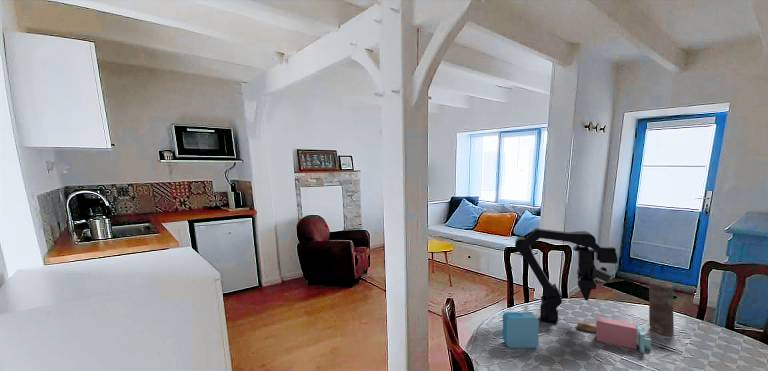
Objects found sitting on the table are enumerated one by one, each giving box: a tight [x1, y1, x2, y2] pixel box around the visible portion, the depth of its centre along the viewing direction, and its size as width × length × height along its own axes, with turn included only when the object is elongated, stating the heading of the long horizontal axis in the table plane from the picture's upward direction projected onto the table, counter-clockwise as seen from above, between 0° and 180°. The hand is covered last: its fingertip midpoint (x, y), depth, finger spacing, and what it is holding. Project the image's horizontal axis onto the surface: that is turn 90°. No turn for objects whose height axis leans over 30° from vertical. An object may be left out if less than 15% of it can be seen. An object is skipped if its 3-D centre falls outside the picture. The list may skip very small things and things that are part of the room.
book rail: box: [577, 320, 596, 333], centre depth 122 cm, size 18×2×2 cm, turn 58°
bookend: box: [635, 323, 652, 355], centre depth 111 cm, size 4×8×7 cm, turn 148°
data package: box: [502, 311, 540, 349], centre depth 115 cm, size 12×4×12 cm, turn 88°
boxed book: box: [595, 316, 638, 350], centre depth 115 cm, size 12×4×8 cm, turn 58°
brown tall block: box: [648, 281, 675, 336], centre depth 122 cm, size 8×7×20 cm
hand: (586, 297), depth 127 cm, fingers open, 6 cm apart
